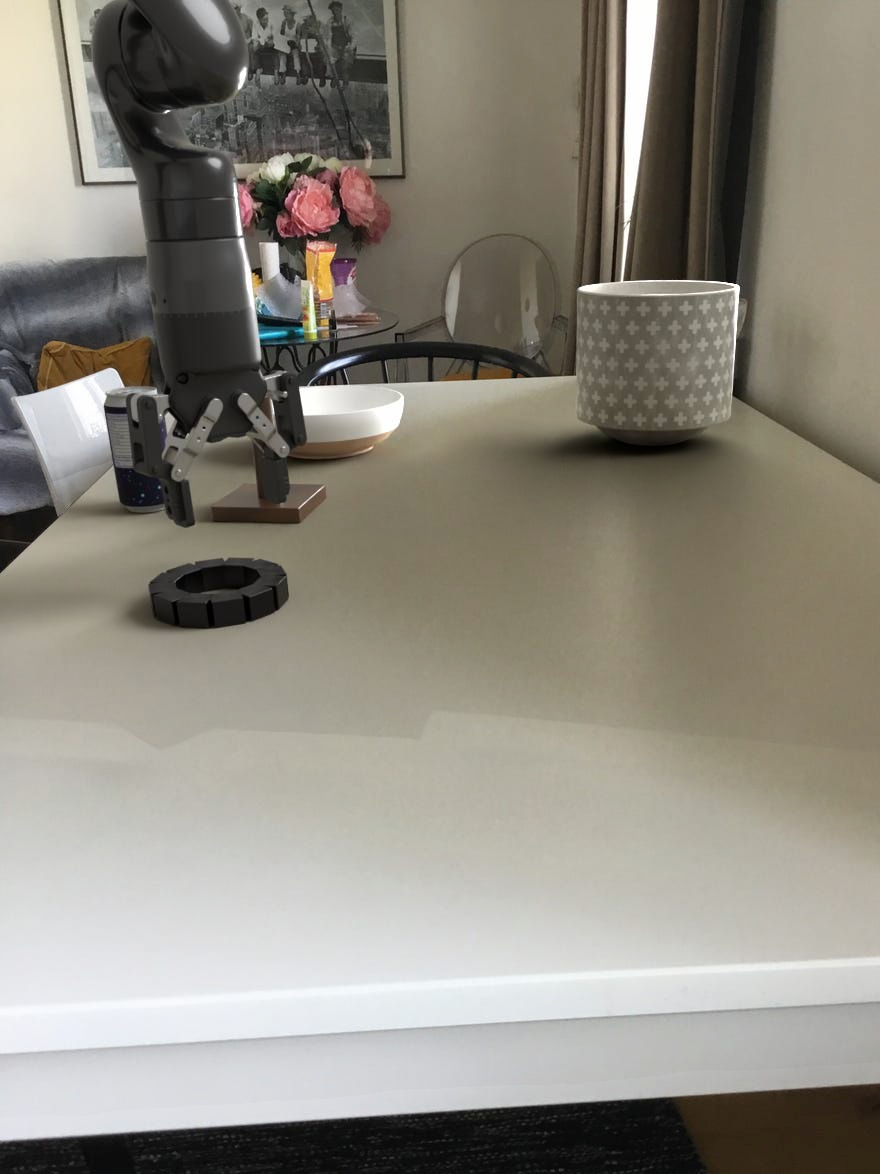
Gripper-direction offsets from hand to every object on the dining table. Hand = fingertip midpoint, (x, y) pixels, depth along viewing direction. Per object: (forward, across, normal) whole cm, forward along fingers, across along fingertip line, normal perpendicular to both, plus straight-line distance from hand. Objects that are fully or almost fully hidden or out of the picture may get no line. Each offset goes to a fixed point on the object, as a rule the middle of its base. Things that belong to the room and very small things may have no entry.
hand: (232, 513), depth 85 cm
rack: (+6, +14, +17) cm, 23 cm away
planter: (+7, +64, +7) cm, 65 cm away
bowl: (+6, +35, +35) cm, 49 cm away
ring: (+6, -4, -3) cm, 8 cm away
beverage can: (+6, +6, +28) cm, 29 cm away
